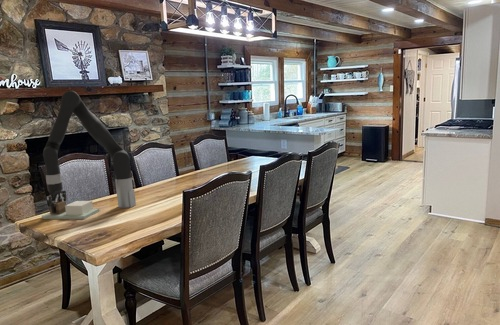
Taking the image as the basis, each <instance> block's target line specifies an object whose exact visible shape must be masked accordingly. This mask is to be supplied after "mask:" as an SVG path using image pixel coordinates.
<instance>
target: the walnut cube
mask: <svg viewBox="0 0 500 325" xmlns="http://www.w3.org/2000/svg"><path fill="white" fill-rule="evenodd" d="M66 202H67V200H66V201H58V200H57V203H56V206H55V207H56V213H52V210H51V207H48V209H49V213H50V215H60V214H62V213H64V212H66V209H65V206H66V205H67V204H66ZM53 204H54V203H53Z"/></svg>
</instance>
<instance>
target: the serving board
mask: <svg viewBox="0 0 500 325" xmlns="http://www.w3.org/2000/svg"><path fill="white" fill-rule="evenodd" d="M99 212H100V209H99V208H93V210H91V211H89V212H87V213H85V214H83V215H66V212H64V213H62V214H60V215H50V212H48V213H46V214H44V215H42V216H41V219H42V220H44V219H45V220H46V219H47V220H48V219H49V220H86V219H87V218H90V217H91V216H93V215H95V214H97V213H99Z"/></svg>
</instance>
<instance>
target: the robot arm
mask: <svg viewBox="0 0 500 325" xmlns="http://www.w3.org/2000/svg"><path fill="white" fill-rule="evenodd" d="M60 101H61V103H60V106H59V110H58V113H57V117H56V119H55V121H54V123H53V126H52V128H51V131H50V133H49V136H48V140H47V142H46V144H45V146H44V148H43V152H42V157H43V160H44V166H45V180H46V187H47V191H48V193H49V195H48V196H45V201H46V204H47V207H48V208H49V207H51V210H52V213H56V207H55V206H56V203H57V201H66V202H67V191H66V190H63V188H64V187H63V178H62V175H61V169H60V164H59V156H58V155H59V154H58V153H59V151H60V147H61V144H62V143H63V141H64V138H65V135H66V132H67V130H68V126H69V123H70V120H71V118H72V117H71V116H72V114H74V115H75V116H76V117H77V118H78V120H79V121H80V123H81V124H82V126H83V128H84V129H85V130H86V132H87V133H88V134H89V135H90V136H91V137H92V139H93V140H94V141H95V142H96V143H98V144H99V145H100V146H101V147H103V148H104V149H105V150H106V151H107V153H108V154H109V156H110V157H111V159H112V167H113V175H114V179H115V190H116V198H117V206H118V209H128V208H129V209H130V208H133V207H135V206H136V205H137V202H136V201H137V200H136V194H135V193H136V192H135V189H134V188H133V187H134V186H133V178H132V169H131V158H130V155H129V154H128V152H127V151H126V150H125V149H124V148H123V147H122V146H121V145H120V144H119V143H118V142H117V141H116V140H115V138H114V137H113V135H112V134H111V132H110V131H109V130H108V128H107V127H106V126H105V124H104V123H103V122H102V121H101V120H100V119H99V118H98V117H97V116H96V115H95V114H94V113H93V112H91V110H89V108H88V107H87V105H86V104H85V103H84V101H83V100H82V98H81V97H80V95H79V94H78V93H77V92H76V91H74V90H67V91H65V92H63V93H62V96H61V100H60ZM53 203H54V204H53Z"/></svg>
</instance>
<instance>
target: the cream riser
mask: <svg viewBox="0 0 500 325" xmlns="http://www.w3.org/2000/svg"><path fill="white" fill-rule="evenodd" d="M65 209H66V215H83V214H85V213H87V212H89V211H91V210H93V209H94V205H93V200H76V201H73V202H71V203H68V204H66V206H65Z"/></svg>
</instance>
